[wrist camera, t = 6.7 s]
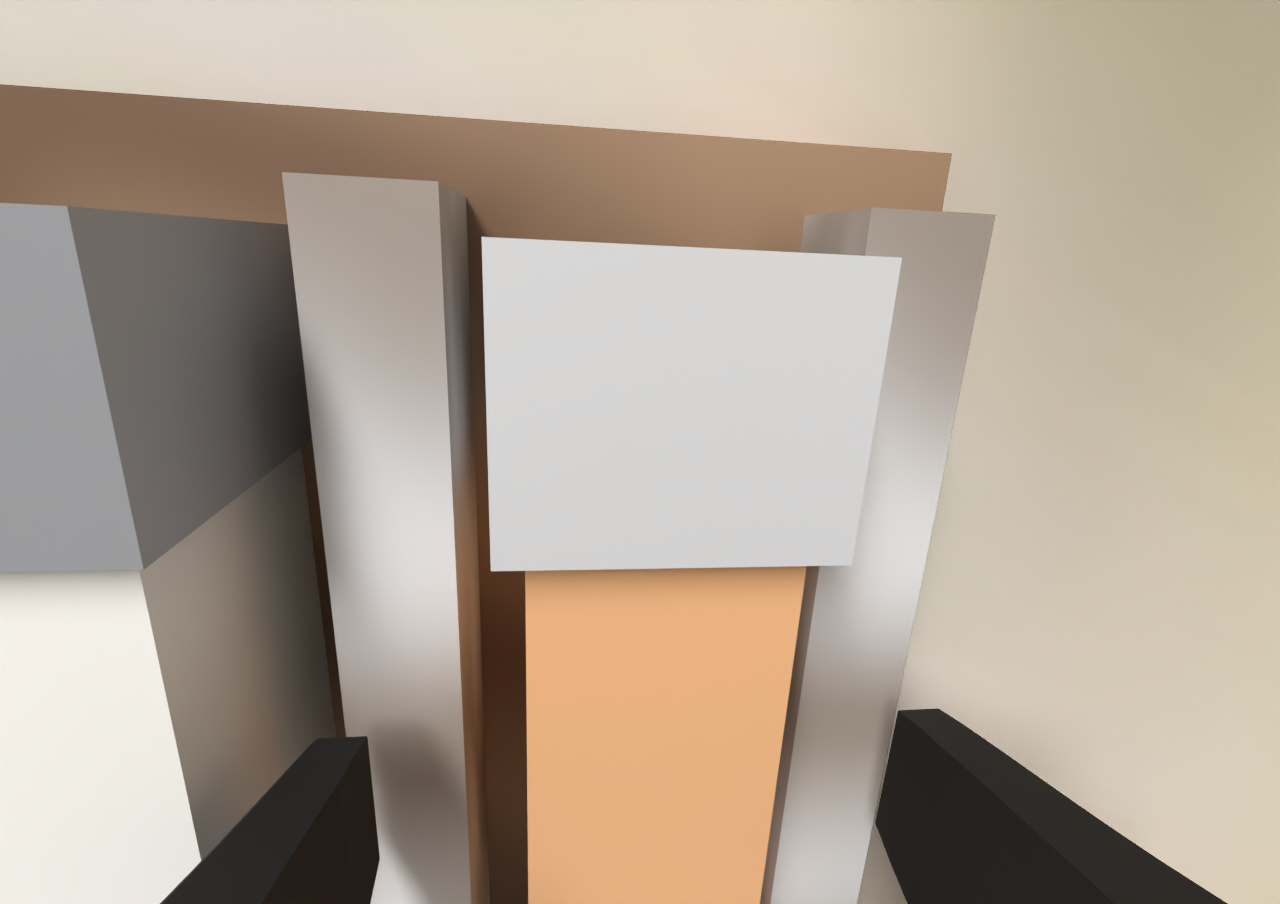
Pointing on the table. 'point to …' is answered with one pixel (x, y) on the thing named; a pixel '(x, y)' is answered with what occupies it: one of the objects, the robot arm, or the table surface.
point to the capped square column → (669, 536)
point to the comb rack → (457, 425)
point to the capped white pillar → (148, 546)
